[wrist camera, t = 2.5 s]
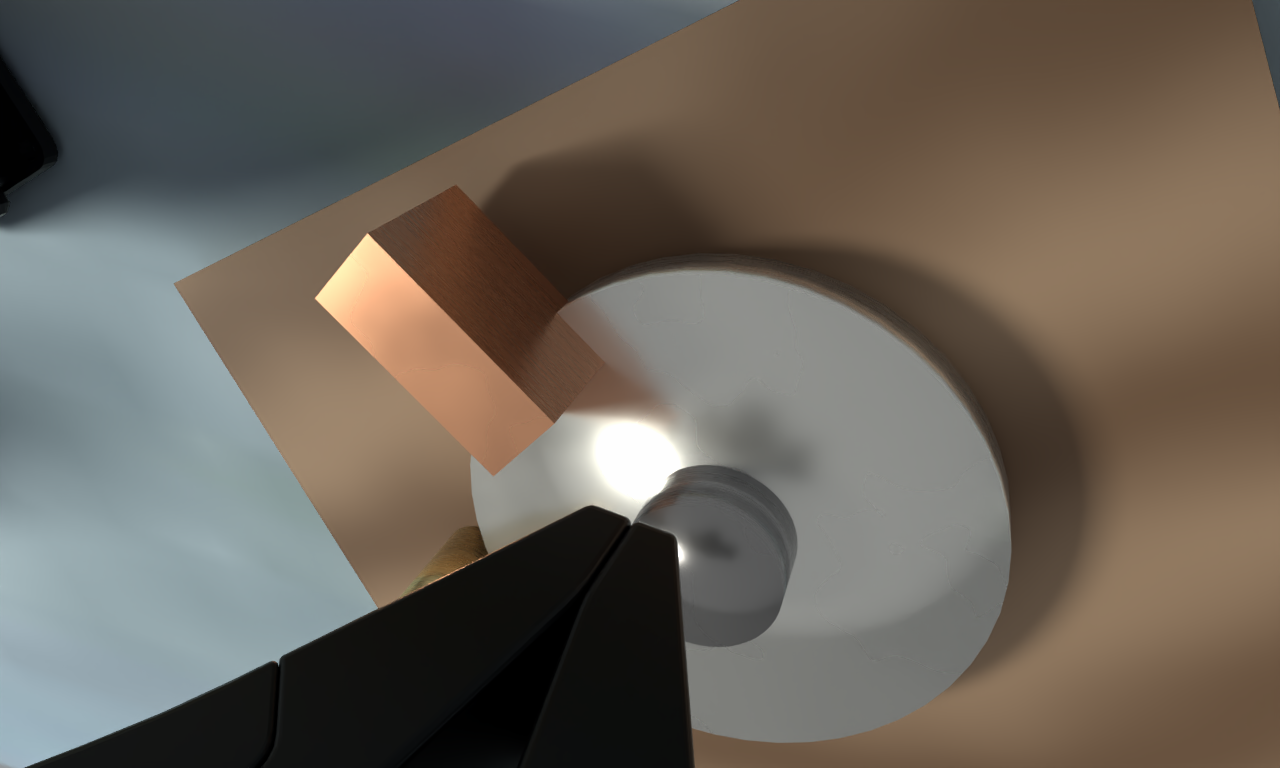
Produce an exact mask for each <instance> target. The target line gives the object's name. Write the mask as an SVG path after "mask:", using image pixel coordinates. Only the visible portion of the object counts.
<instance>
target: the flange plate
mask: <svg viewBox="0 0 1280 768" xmlns="http://www.w3.org/2000/svg"><path fill="white" fill-rule="evenodd" d="M315 299H316V300H317V301H318V302H319V303H320V304H321V305H322V306H323V307H324V308H325V309H326V310H327V311H328V312H329V313H330V314H331V315H332V316H333V317H334V318H335V319H336V320H337V321H338V322H339V323H340V324H341V325H342V326H343V327H344V328H345V329H346V330H347V331H348V332H349V333H350V334H351V335H352V336H353V337H354V338H355V339H356V340H357V341H358V342H359V343H360V344H361V345H362V346H363V347H364V348H365V349H366V350H367V351H368V352H369V353H370V354H371V355H372V356H373V357H374V358H375V359H376V360H377V361H378V362H379V363H380V364H381V365H382V366H383V367H384V368H385V369H386V370H387V371H388V372H389V373H390V374H391V375H392V376H393V377H394V378H395V379H396V380H397V381H398V382H399V383H400V384H401V385H402V386H403V387H404V388H405V389H406V390H407V391H408V392H409V393H410V394H411V395H412V396H413V397H414V398H415V399H416V400H417V401H418V402H419V403H420V404H421V405H422V406H423V407H424V408H425V409H426V410H427V411H428V412H429V413H430V414H431V415H432V416H433V417H434V418H435V419H436V420H437V421H438V422H439V423H440V424H441V425H442V426H443V427H444V428H445V429H446V430H447V431H448V432H449V433H450V434H451V435H452V436H453V437H454V438H455V439H456V440H457V441H458V442H459V443H460V444H461V445H462V446H463V447H464V448H465V449H466V450H467V451H468V452H469V453H470V454H471V462H470V469H471V488H472V497H473V502H474V507H475V513H476V518H477V522H478V525H479V528H480V531H481V535H482V538H483V541H484V544H485V547H486V549H487V552H488V554H490V553H492V552H494V551H496V550H498V549H500V548H502V547H504V546H506V545H508V544H510V543H512V542H514V541H516V540H518V539H520V538H522V537H525V536H527V535H529V534H531V533H533V532H535V531H537V530H539V529H541V528H543V527H545V526H547V525H549V524H551V523H553V522H555V521H557V520H559V519H561V518H563V517H565V516H567V515H569V514H571V513H573V512H575V511H577V510H579V509H581V508H583V507H586V506H590V505H594V506H599V507H601V508H604V509H607V510H609V511H612V512H615V513H618V514H620V515H623V516H626V517H627V518H629V520H630V521H631V525H632V524H634V523H637V522H642V523H645V524H648V525H650V526H653V527H656V528H659V529H661V530H664V531H667V532H670V533H672V534H673V535H674V536H675V537H676V539H677V542H678V554H679V567H680V580H681V593H682V606H683V619H684V632H685V645H686V658H687V671H688V684H689V697H690V709H691V722H692V728H693V729H697V730H700V731H704V732H708V733H711V734H715V735H720V736H726V737H731V738H737V739H742V740H749V741H761V742H774V743H794V742H815V741H822V740H830V739H838V738H843V737H847V736H851V735H855V734H859V733H863V732H867V731H871V730H873V729H876V728H879V727H881V726H884V725H886V724H889V723H891V722H894V721H897V720H899V719H901V718H903V717H905V716H906V715H908V714H910V713H912V712H914V711H915V710H917V709H919V708H921V707H923V706H924V705H926V704H927V703H929V702H930V701H931V700H933V699H934V698H935V697H937V696H938V695H939V694H941V693H942V692H943V691H945V690H946V689H947V688H949V687H950V686H951V685H952V684H953V683H954V682H955V681H956V679H957V678H958V677H959V676H960V675H961V674H962V673H963V672H964V671H965V670H966V669H967V668H968V667H969V666H970V665H971V663H972V662H973V661H974V659H975V658H976V656H977V655H978V653H979V652H980V650H981V649H982V648H983V646H984V645H985V643H986V642H987V640H988V638H989V636H990V634H991V632H992V630H993V627H994V625H995V623H996V621H997V619H998V617H999V615H1000V612H1001V608H1002V605H1003V601H1004V597H1005V593H1006V590H1007V586H1008V581H1009V570H1010V560H1011V512H1010V499H1009V486H1008V479H1007V475H1006V471H1005V467H1004V462H1003V458H1002V454H1001V450H1000V447H999V445H998V442H997V440H996V437H995V435H994V433H993V430H992V428H991V425H990V423H989V420H988V418H987V416H986V414H985V412H984V411H983V409H982V407H981V406H980V404H979V402H978V401H977V399H976V397H975V395H974V394H973V392H972V390H971V389H970V387H969V385H968V384H967V383H966V382H965V380H964V379H963V378H962V376H961V375H960V374H959V373H958V371H957V370H956V369H955V368H954V366H953V365H952V364H951V363H950V361H949V360H948V359H947V358H946V356H945V355H944V354H943V353H942V352H941V351H940V350H939V349H938V348H937V347H935V346H934V345H933V344H932V343H931V342H930V341H929V340H928V339H927V338H926V337H925V336H924V335H923V334H922V333H921V332H920V331H919V330H918V329H917V328H915V327H914V326H913V325H911V324H910V323H909V322H907V321H906V320H905V319H903V318H902V317H901V316H899V315H898V314H897V313H895V312H894V311H893V310H891V309H890V308H889V307H887V306H886V305H884V304H883V303H881V302H879V301H877V300H876V299H874V298H872V297H870V296H868V295H867V294H865V293H863V292H861V291H860V290H858V289H856V288H854V287H853V286H851V285H849V284H846V283H844V282H841V281H839V280H836V279H834V278H832V277H829V276H827V275H824V274H822V273H819V272H817V271H815V270H812V269H808V268H804V267H801V266H797V265H794V264H790V263H786V262H783V261H779V260H775V259H769V258H762V257H755V256H748V255H741V254H714V253H697V254H689V255H680V256H671V257H663V258H659V259H655V260H651V261H648V262H644V263H640V264H636V265H632V266H629V267H626V268H624V269H622V270H619V271H617V272H614V273H612V274H610V275H607V276H605V277H602V278H600V279H598V280H597V281H595V282H593V283H592V284H590V285H588V286H586V287H585V288H583V289H581V290H580V291H578V292H576V293H575V294H573V295H572V296H571V297H569V298H568V299H566V298H565V297H564V296H563V295H562V294H561V293H560V292H559V291H558V290H557V289H556V288H555V287H554V286H553V284H552V283H551V282H550V281H549V280H548V279H547V278H546V277H545V276H544V275H543V274H542V273H541V272H540V271H539V270H538V269H537V268H536V267H535V266H534V265H533V264H532V263H531V262H530V261H529V260H528V259H527V257H526V256H525V255H524V254H523V253H522V252H521V251H520V250H519V249H518V248H517V247H516V246H515V245H514V244H513V243H512V242H511V241H510V240H509V239H508V238H507V237H506V236H505V235H504V234H503V233H502V232H501V230H500V229H499V228H498V227H497V226H496V225H495V224H494V223H493V222H492V221H491V220H490V219H489V218H488V217H487V216H486V215H485V214H484V213H483V212H482V211H481V210H480V209H479V208H478V207H477V206H476V205H475V203H474V202H473V201H472V200H471V199H470V198H469V197H468V196H467V195H466V194H465V193H464V192H463V191H462V190H461V189H460V188H459V187H458V186H457V185H454V186H453V187H451V188H449V189H447V190H445V191H444V192H442V193H440V194H438V195H436V196H434V197H433V198H431V199H429V200H427V201H425V202H424V203H422V204H420V205H418V206H416V207H415V208H413V209H411V210H409V211H407V212H405V213H404V214H402V215H400V216H398V217H396V218H395V219H393V220H391V221H389V222H387V223H385V224H384V225H382V226H380V227H378V228H376V229H375V230H373V231H371V232H369V233H367V235H366V236H365V237H364V238H363V239H362V241H361V242H360V243H359V244H358V246H357V247H356V248H355V249H354V251H353V252H352V253H351V254H350V256H349V257H348V258H347V259H346V261H345V262H344V263H343V264H342V266H341V267H340V268H339V269H338V270H337V272H336V273H335V274H334V275H333V277H332V278H331V279H330V280H329V282H328V283H327V284H326V285H325V287H324V288H323V289H322V290H321V292H320V293H319V294H318V295H317V297H316V298H315Z"/></svg>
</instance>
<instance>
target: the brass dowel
mask: <svg viewBox="0 0 1280 768" xmlns="http://www.w3.org/2000/svg"><path fill="white" fill-rule="evenodd" d="M486 555H488V552H487V549H486V547H485V544H484V541H483V538H482V535H481V531H480V528H479V527H476V526H467V527H463V528H460V529H458V530H456V531H455V532H454V533H453V534H452V536H451V537H450V538H449V539H448V540H447V541H446V543H445V544H444V545H443V546H442V547H441V549H440V550H439V551H438V552H437V553H436V554H435V556H434V557H433V558H432V559H431V560H430V562H429V563H428V564H427V565H426V566H425V568H424V569H423V570H422V571H421V572H420V573H419V575H418V576H417V577H416V578H415V579H414V581H413V582H412V583H411V584H410V585H409V587H408V588H407V589H406V590H405V591H404V592H403V594H402V595H401V596H400V597H399V598H401V597H403V596H405V595H407V594H409V593H411V592H413V591H415V590H417V589H419V588H421V587H423V586H425V585H427V584H429V583H431V582H433V581H435V580H437V579H439V578H441V577H443V576H445V575H447V574H449V573H452V572H454V571H456V570H458V569H460V568H462V567H464V566H466V565H468V564H470V563H472V562H474V561H476V560H478V559H480V558H482V557H484V556H486ZM399 598H398V599H399Z"/></svg>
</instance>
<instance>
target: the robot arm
mask: <svg viewBox="0 0 1280 768" xmlns="http://www.w3.org/2000/svg"><path fill="white" fill-rule="evenodd" d="M33 147H34V148H33ZM34 149H35V150H34ZM57 157H58V152H57V147H56V144H55V142H54V140H53V138H52V137H51V135H50V134H49V132H48V130H47V129H46V127H45V126H44V124H43V123H42V121H41V119H40V118H39V116H38V115H37V113H36V112H35V110H34V109H33V107H32V105H31V104H30V102H29V101H28V99H27V98H26V96H25V94H24V93H23V91H22V90H21V88H20V87H19V85H18V84H17V82H16V80H15V79H14V77H13V76H12V74H11V73H10V71H9V69H8V68H7V66H6V65H5V63H4V62H3V60H2V59H1V57H0V217H2V216H3V215H5V214H6V213H7V211H8V208H9V205H10V201H9V200H8V198H7V197H6V196H7V195H8V194H10V193H11V192H13V191H14V190H16V189H17V188H19V187H20V186H22V185H24V184H25V183H27V182H28V181H30V180H31V179H33V178H34V177H36V176H38V175H39V174H41V173H42V172H44V171H45V170H47V169H48V168H50V167H52V166H53V165H54V164H55V163H56V161H57ZM25 768H695V761H694V748H693V735H692V722H691V709H690V697H689V684H688V671H687V658H686V645H685V632H684V619H683V606H682V593H681V580H680V567H679V554H678V542H677V539H676V537H675V536H674V535H673V534H672V533H670V532H667V531H664V530H661V529H659V528H656V527H653V526H650V525H648V524H645V523H642V522H637V523H634V524H632V525H631V521H630V520H629V518H627V517H626V516H623V515H620V514H618V513H615V512H612V511H609V510H607V509H604V508H601V507H599V506H594V505H590V506H586V507H583V508H581V509H579V510H577V511H575V512H573V513H571V514H569V515H567V516H565V517H563V518H561V519H559V520H557V521H555V522H553V523H551V524H549V525H547V526H545V527H543V528H541V529H539V530H537V531H535V532H533V533H531V534H529V535H527V536H525V537H522V538H520V539H518V540H516V541H514V542H512V543H510V544H508V545H506V546H504V547H502V548H500V549H498V550H496V551H494V552H492V553H490V554H488V555H486V556H484V557H482V558H480V559H478V560H476V561H474V562H472V563H470V564H468V565H466V566H464V567H462V568H460V569H458V570H456V571H454V572H452V573H449V574H447V575H445V576H443V577H441V578H439V579H437V580H435V581H433V582H431V583H429V584H427V585H425V586H423V587H421V588H419V589H417V590H415V591H413V592H411V593H409V594H407V595H405V596H403V597H401V598H399V599H397V600H395V601H393V602H391V603H389V604H387V605H385V606H383V607H381V608H378V609H376V610H374V611H372V612H370V613H368V614H366V615H364V616H362V617H360V618H358V619H356V620H354V621H352V622H350V623H348V624H346V625H344V626H342V627H340V628H338V629H336V630H334V631H332V632H330V633H328V634H326V635H324V636H322V637H320V638H318V639H316V640H314V641H312V642H310V643H307V644H305V645H303V646H301V647H299V648H297V649H295V650H293V651H291V652H289V653H287V654H285V655H283V656H282V657H281V658H280V660H279V666H278V663H277V662H275V661H270V662H268V663H266V664H264V665H262V666H260V667H258V668H256V669H254V670H252V671H250V672H248V673H246V674H244V675H242V676H240V677H238V678H236V679H234V680H232V681H230V682H227V683H225V684H223V685H221V686H219V687H217V688H214V689H212V690H210V691H208V692H206V693H204V694H201V695H199V696H197V697H195V698H193V699H191V700H188V701H186V702H184V703H182V704H180V705H178V706H176V707H173V708H171V709H169V710H167V711H165V712H162V713H160V714H158V715H155V716H153V717H150V718H148V719H145V720H143V721H141V722H138V723H136V724H133V725H131V726H128V727H126V728H123V729H121V730H119V731H116V732H114V733H111V734H109V735H106V736H104V737H101V738H99V739H97V740H94V741H92V742H89V743H87V744H84V745H82V746H79V747H77V748H74V749H71V750H69V751H66V752H64V753H61V754H59V755H56V756H53V757H51V758H48V759H46V760H43V761H40V762H38V763H35V764H33V765H30V766H27V767H25Z"/></svg>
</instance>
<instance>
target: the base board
mask: <svg viewBox="0 0 1280 768" xmlns="http://www.w3.org/2000/svg"><path fill="white" fill-rule="evenodd" d="M454 185H457V186H458V187H459V188H460V189H461V190H462V191H463V192H464V193H465V194H466V195H467V196H468V197H469V198H470V199H471V200H472V201H473V202H474V203H475V205H476V206H477V207H478V208H479V209H480V210H481V211H482V212H483V213H484V214H485V215H486V216H487V217H488V218H489V219H490V220H491V221H492V222H493V223H494V224H495V225H496V226H497V227H498V228H499V229H500V230H501V232H502V233H503V234H504V235H505V236H506V237H507V238H508V239H509V240H510V241H511V242H512V243H513V244H514V245H515V246H516V247H517V248H518V249H519V250H520V251H521V252H522V253H523V254H524V255H525V256H526V257H527V259H528V260H529V261H530V262H531V263H532V264H533V265H534V266H535V267H536V268H537V269H538V270H539V271H540V272H541V273H542V274H543V275H544V276H545V277H546V278H547V279H548V280H549V281H550V282H551V283H552V284H553V286H554V287H555V288H556V289H557V290H558V291H559V292H560V293H561V294H562V295H563V296H564V297H565V298H566V299H568V298H569V297H571V296H572V295H573V294H575V293H576V292H578V291H580V290H581V289H583V288H585V287H586V286H588V285H590V284H592V283H593V282H595V281H597V280H598V279H600V278H602V277H605V276H607V275H610V274H612V273H614V272H617V271H619V270H622V269H624V268H626V267H629V266H632V265H636V264H640V263H644V262H648V261H651V260H655V259H659V258H663V257H671V256H680V255H689V254H697V253H714V254H741V255H748V256H755V257H762V258H769V259H775V260H779V261H783V262H786V263H790V264H794V265H797V266H801V267H804V268H808V269H812V270H815V271H817V272H819V273H822V274H824V275H827V276H829V277H832V278H834V279H836V280H839V281H841V282H844V283H846V284H849V285H851V286H853V287H854V288H856V289H858V290H860V291H861V292H863V293H865V294H867V295H868V296H870V297H872V298H874V299H876V300H877V301H879V302H881V303H883V304H884V305H886V306H887V307H889V308H890V309H891V310H893V311H894V312H895V313H897V314H898V315H899V316H901V317H902V318H903V319H905V320H906V321H907V322H909V323H910V324H911V325H913V326H914V327H915V328H917V329H918V330H919V331H920V332H921V333H922V334H923V335H924V336H925V337H926V338H927V339H928V340H929V341H930V342H931V343H932V344H933V345H934V346H935V347H937V348H938V349H939V350H940V351H941V352H942V353H943V354H944V355H945V356H946V358H947V359H948V360H949V361H950V363H951V364H952V365H953V366H954V368H955V369H956V370H957V371H958V373H959V374H960V375H961V376H962V378H963V379H964V380H965V382H966V383H967V384H968V385H969V387H970V389H971V390H972V392H973V394H974V395H975V397H976V399H977V401H978V402H979V404H980V406H981V407H982V409H983V411H984V412H985V414H986V416H987V418H988V420H989V423H990V425H991V428H992V430H993V433H994V435H995V437H996V440H997V442H998V445H999V447H1000V450H1001V454H1002V458H1003V462H1004V467H1005V471H1006V475H1007V479H1008V486H1009V499H1010V512H1011V560H1010V570H1009V581H1008V586H1007V590H1006V593H1005V597H1004V601H1003V605H1002V608H1001V612H1000V615H999V617H998V619H997V621H996V623H995V625H994V627H993V630H992V632H991V634H990V636H989V638H988V640H987V642H986V643H985V645H984V646H983V648H982V649H981V650H980V652H979V653H978V655H977V656H976V658H975V659H974V661H973V662H972V663H971V665H970V666H969V667H968V668H967V669H966V670H965V671H964V672H963V673H962V674H961V675H960V676H959V677H958V678H957V679H956V681H955V682H954V683H953V684H952V685H951V686H950V687H949V688H947V689H946V690H945V691H943V692H942V693H941V694H939V695H938V696H937V697H935V698H934V699H933V700H931V701H930V702H929V703H927V704H926V705H924V706H923V707H921V708H919V709H917V710H915V711H914V712H912V713H910V714H908V715H906V716H905V717H903V718H901V719H899V720H897V721H894V722H891V723H889V724H886V725H884V726H881V727H879V728H876V729H873V730H871V731H867V732H863V733H859V734H855V735H851V736H847V737H843V738H838V739H830V740H822V741H815V742H794V743H774V742H761V741H749V740H742V739H737V738H731V737H726V736H720V735H715V734H711V733H708V732H704V731H700V730H697V729H693V728H692V735H693V748H694V761H695V768H1280V109H1279V105H1278V101H1277V97H1276V93H1275V89H1274V85H1273V81H1272V77H1271V73H1270V69H1269V66H1268V62H1267V58H1266V54H1265V50H1264V46H1263V42H1262V38H1261V34H1260V30H1259V26H1258V22H1257V18H1256V14H1255V10H1254V6H1253V2H1252V0H739V1H737V2H735V3H733V4H731V5H729V6H727V7H725V8H723V9H721V10H719V11H717V12H715V13H713V14H711V15H709V16H707V17H705V18H703V19H701V20H699V21H697V22H695V23H693V24H691V25H689V26H687V27H685V28H683V29H681V30H679V31H677V32H675V33H673V34H671V35H669V36H667V37H665V38H663V39H661V40H659V41H657V42H655V43H653V44H651V45H649V46H647V47H645V48H643V49H641V50H639V51H637V52H635V53H633V54H631V55H629V56H627V57H625V58H623V59H621V60H619V61H617V62H615V63H613V64H611V65H609V66H607V67H605V68H603V69H601V70H599V71H597V72H595V73H593V74H591V75H589V76H587V77H585V78H583V79H581V80H579V81H577V82H575V83H573V84H571V85H569V86H567V87H565V88H563V89H561V90H559V91H557V92H555V93H553V94H551V95H549V96H547V97H545V98H543V99H541V100H539V101H537V102H535V103H533V104H531V105H529V106H527V107H525V108H523V109H521V110H519V111H517V112H515V113H513V114H511V115H509V116H507V117H505V118H503V119H501V120H499V121H497V122H495V123H493V124H491V125H489V126H487V127H485V128H483V129H481V130H479V131H477V132H475V133H473V134H471V135H469V136H467V137H465V138H463V139H461V140H459V141H457V142H455V143H453V144H451V145H449V146H447V147H445V148H443V149H441V150H439V151H437V152H435V153H433V154H431V155H429V156H427V157H425V158H423V159H421V160H419V161H417V162H415V163H413V164H411V165H409V166H407V167H405V168H403V169H401V170H399V171H397V172H395V173H393V174H391V175H389V176H387V177H385V178H383V179H382V180H380V181H378V182H376V183H374V184H372V185H370V186H368V187H366V188H364V189H362V190H360V191H358V192H356V193H354V194H352V195H350V196H348V197H346V198H344V199H342V200H340V201H338V202H336V203H334V204H332V205H330V206H328V207H326V208H324V209H322V210H320V211H318V212H316V213H314V214H312V215H310V216H308V217H306V218H304V219H302V220H300V221H298V222H296V223H294V224H292V225H290V226H288V227H286V228H284V229H282V230H280V231H278V232H276V233H274V234H272V235H270V236H268V237H266V238H264V239H262V240H260V241H258V242H256V243H254V244H252V245H250V246H248V247H246V248H244V249H242V250H240V251H238V252H236V253H234V254H232V255H230V256H228V257H226V258H224V259H222V260H220V261H218V262H216V263H214V264H212V265H210V266H208V267H206V268H204V269H202V270H200V271H198V272H196V273H194V274H192V275H190V276H188V277H186V278H184V279H182V280H180V281H178V282H176V283H174V285H175V287H176V288H177V290H178V291H179V293H180V295H181V296H182V298H183V299H184V301H185V303H186V304H187V306H188V307H189V309H190V310H191V312H192V314H193V315H194V317H195V318H196V320H197V322H198V323H199V325H200V326H201V328H202V330H203V331H204V333H205V334H206V336H207V337H208V339H209V341H210V342H211V344H212V345H213V347H214V349H215V350H216V352H217V353H218V355H219V356H220V358H221V360H222V361H223V363H224V364H225V366H226V368H227V369H228V371H229V372H230V374H231V376H232V377H233V379H234V380H235V382H236V383H237V385H238V387H239V388H240V390H241V391H242V393H243V395H244V396H245V398H246V399H247V401H248V402H249V404H250V406H251V407H252V409H253V410H254V412H255V414H256V415H257V417H258V418H259V420H260V422H261V423H262V425H263V426H264V428H265V429H266V431H267V433H268V434H269V436H270V437H271V439H272V441H273V442H274V444H275V445H276V447H277V448H278V450H279V452H280V453H281V455H282V456H283V458H284V460H285V461H286V463H287V464H288V466H289V468H290V469H291V471H292V472H293V474H294V475H295V477H296V479H297V480H298V482H299V483H300V485H301V487H302V488H303V490H304V491H305V493H306V494H307V496H308V498H309V499H310V501H311V502H312V504H313V506H314V507H315V509H316V510H317V512H318V514H319V515H320V517H321V518H322V520H323V521H324V523H325V525H326V526H327V528H328V529H329V531H330V533H331V534H332V536H333V537H334V539H335V540H336V542H337V544H338V545H339V547H340V548H341V550H342V552H343V553H344V555H345V556H346V558H347V560H348V561H349V563H350V564H351V566H352V567H353V569H354V571H355V572H356V574H357V575H358V577H359V579H360V580H361V582H362V583H363V585H364V586H365V588H366V590H367V591H368V593H369V594H370V596H371V598H372V599H373V601H374V602H375V604H376V606H377V607H378V608H381V607H383V606H385V605H387V604H389V603H391V602H393V601H395V600H397V599H398V598H399V597H400V596H401V595H402V594H403V592H404V591H405V590H406V589H407V588H408V587H409V585H410V584H411V583H412V582H413V581H414V579H415V578H416V577H417V576H418V575H419V573H420V572H421V571H422V570H423V569H424V568H425V566H426V565H427V564H428V563H429V562H430V560H431V559H432V558H433V557H434V556H435V554H436V553H437V552H438V551H439V550H440V549H441V547H442V546H443V545H444V544H445V543H446V541H447V540H448V539H449V538H450V537H451V536H452V534H453V533H454V532H455V531H456V530H458V529H460V528H463V527H467V526H476V527H479V525H478V522H477V518H476V513H475V507H474V502H473V497H472V488H471V469H470V462H471V454H470V453H469V452H468V451H467V450H466V449H465V448H464V447H463V446H462V445H461V444H460V443H459V442H458V441H457V440H456V439H455V438H454V437H453V436H452V435H451V434H450V433H449V432H448V431H447V430H446V429H445V428H444V427H443V426H442V425H441V424H440V423H439V422H438V421H437V420H436V419H435V418H434V417H433V416H432V415H431V414H430V413H429V412H428V411H427V410H426V409H425V408H424V407H423V406H422V405H421V404H420V403H419V402H418V401H417V400H416V399H415V398H414V397H413V396H412V395H411V394H410V393H409V392H408V391H407V390H406V389H405V388H404V387H403V386H402V385H401V384H400V383H399V382H398V381H397V380H396V379H395V378H394V377H393V376H392V375H391V374H390V373H389V372H388V371H387V370H386V369H385V368H384V367H383V366H382V365H381V364H380V363H379V362H378V361H377V360H376V359H375V358H374V357H373V356H372V355H371V354H370V353H369V352H368V351H367V350H366V349H365V348H364V347H363V346H362V345H361V344H360V343H359V342H358V341H357V340H356V339H355V338H354V337H353V336H352V335H351V334H350V333H349V332H348V331H347V330H346V329H345V328H344V327H343V326H342V325H341V324H340V323H339V322H338V321H337V320H336V319H335V318H334V317H333V316H332V315H331V314H330V313H329V312H328V311H327V310H326V309H325V308H324V307H323V306H322V305H321V304H320V303H319V302H318V301H317V300H316V299H315V298H316V297H317V295H318V294H319V293H320V292H321V290H322V289H323V288H324V287H325V285H326V284H327V283H328V282H329V280H330V279H331V278H332V277H333V275H334V274H335V273H336V272H337V270H338V269H339V268H340V267H341V266H342V264H343V263H344V262H345V261H346V259H347V258H348V257H349V256H350V254H351V253H352V252H353V251H354V249H355V248H356V247H357V246H358V244H359V243H360V242H361V241H362V239H363V238H364V237H365V236H366V235H367V233H369V232H371V231H373V230H375V229H376V228H378V227H380V226H382V225H384V224H385V223H387V222H389V221H391V220H393V219H395V218H396V217H398V216H400V215H402V214H404V213H405V212H407V211H409V210H411V209H413V208H415V207H416V206H418V205H420V204H422V203H424V202H425V201H427V200H429V199H431V198H433V197H434V196H436V195H438V194H440V193H442V192H444V191H445V190H447V189H449V188H451V187H453V186H454Z"/></svg>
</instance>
